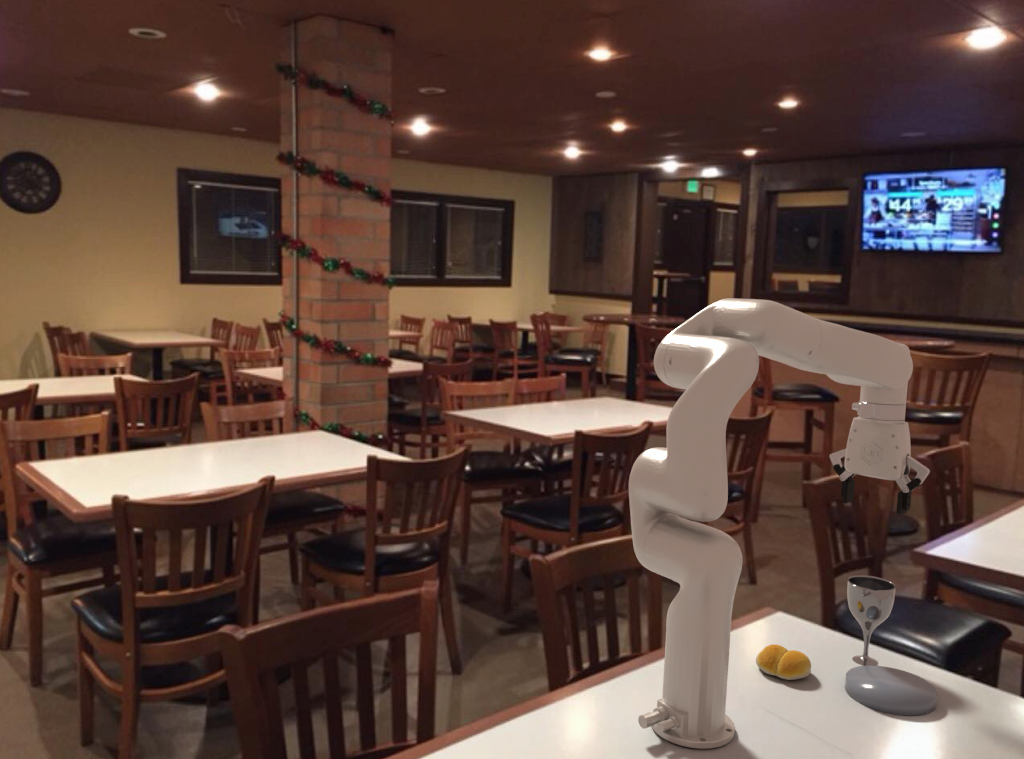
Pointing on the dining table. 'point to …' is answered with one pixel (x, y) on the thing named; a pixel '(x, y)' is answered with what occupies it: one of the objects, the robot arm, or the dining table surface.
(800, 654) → the bread roll
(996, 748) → the dining table surface
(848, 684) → the plate
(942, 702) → the dining table surface
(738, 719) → the dining table surface
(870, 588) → the wine glass
